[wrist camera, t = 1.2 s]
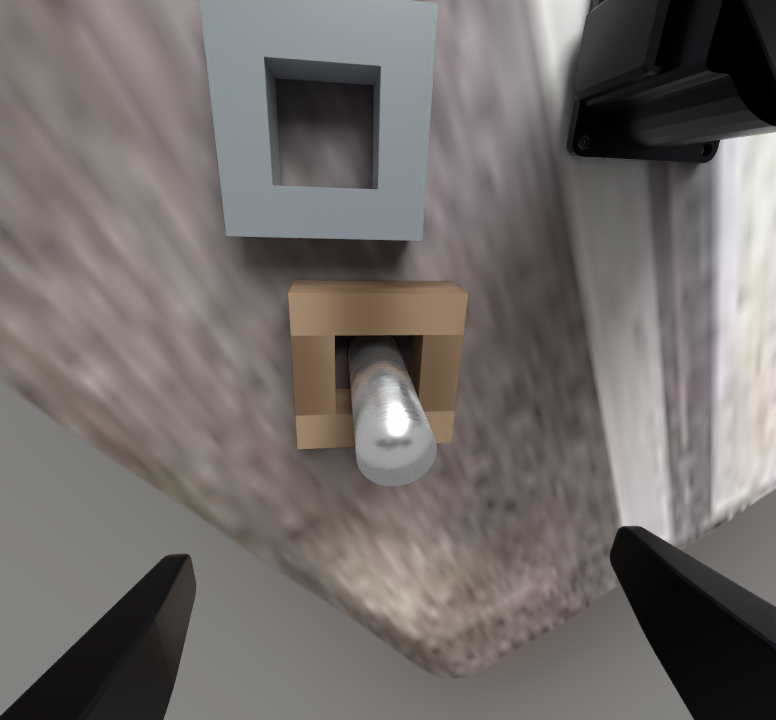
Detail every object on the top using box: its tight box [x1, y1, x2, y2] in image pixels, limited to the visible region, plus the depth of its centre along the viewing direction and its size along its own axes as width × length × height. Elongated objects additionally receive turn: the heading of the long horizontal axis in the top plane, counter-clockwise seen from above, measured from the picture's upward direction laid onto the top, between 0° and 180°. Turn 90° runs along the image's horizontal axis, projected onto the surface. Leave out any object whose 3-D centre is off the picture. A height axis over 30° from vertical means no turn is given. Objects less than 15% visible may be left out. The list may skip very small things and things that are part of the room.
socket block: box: [288, 280, 468, 449], centre depth 18 cm, size 7×7×2 cm
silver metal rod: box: [348, 335, 437, 486], centre depth 15 cm, size 2×2×8 cm
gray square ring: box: [199, 0, 438, 241], centre depth 14 cm, size 7×7×2 cm
